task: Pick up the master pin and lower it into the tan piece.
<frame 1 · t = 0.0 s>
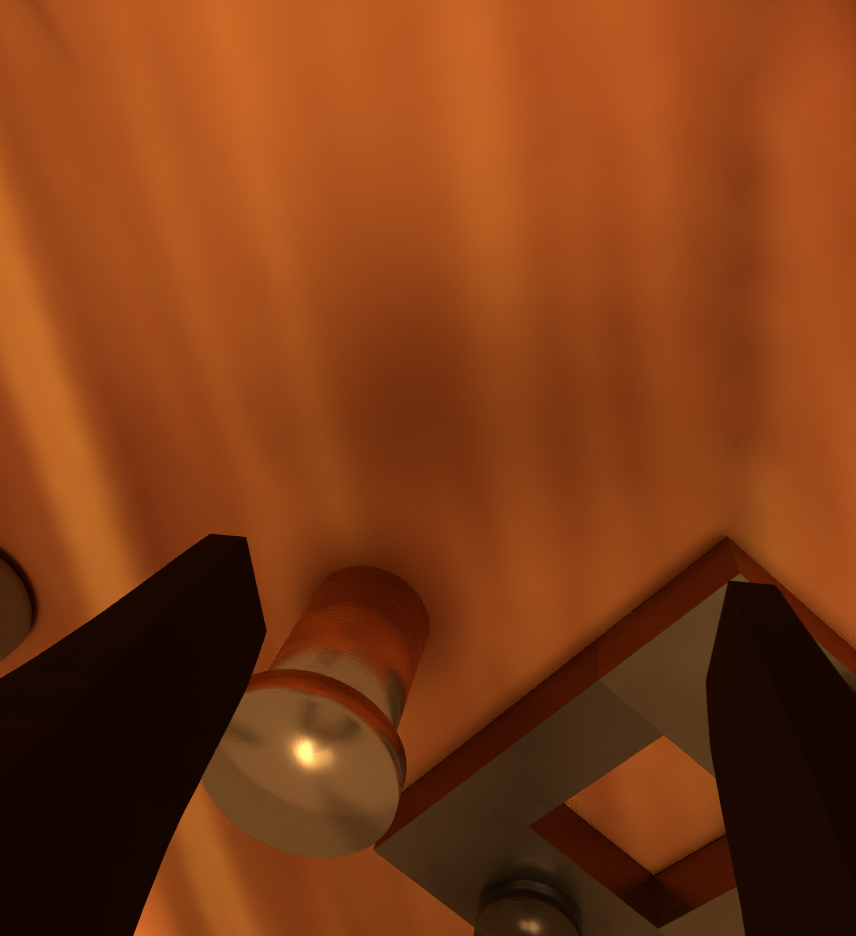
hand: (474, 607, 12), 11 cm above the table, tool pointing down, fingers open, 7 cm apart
master pin: (369, 619, 25), on the table
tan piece: (655, 788, 26), on the table
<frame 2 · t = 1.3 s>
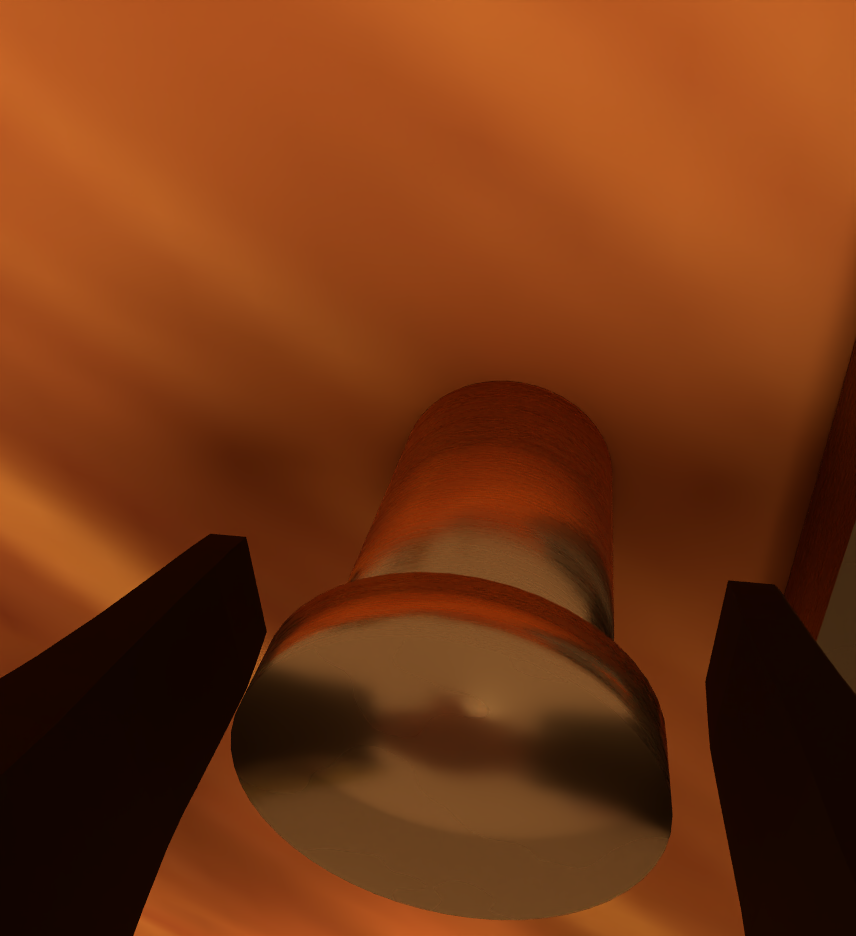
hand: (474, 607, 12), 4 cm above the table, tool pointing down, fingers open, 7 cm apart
master pin: (505, 474, 15), on the table
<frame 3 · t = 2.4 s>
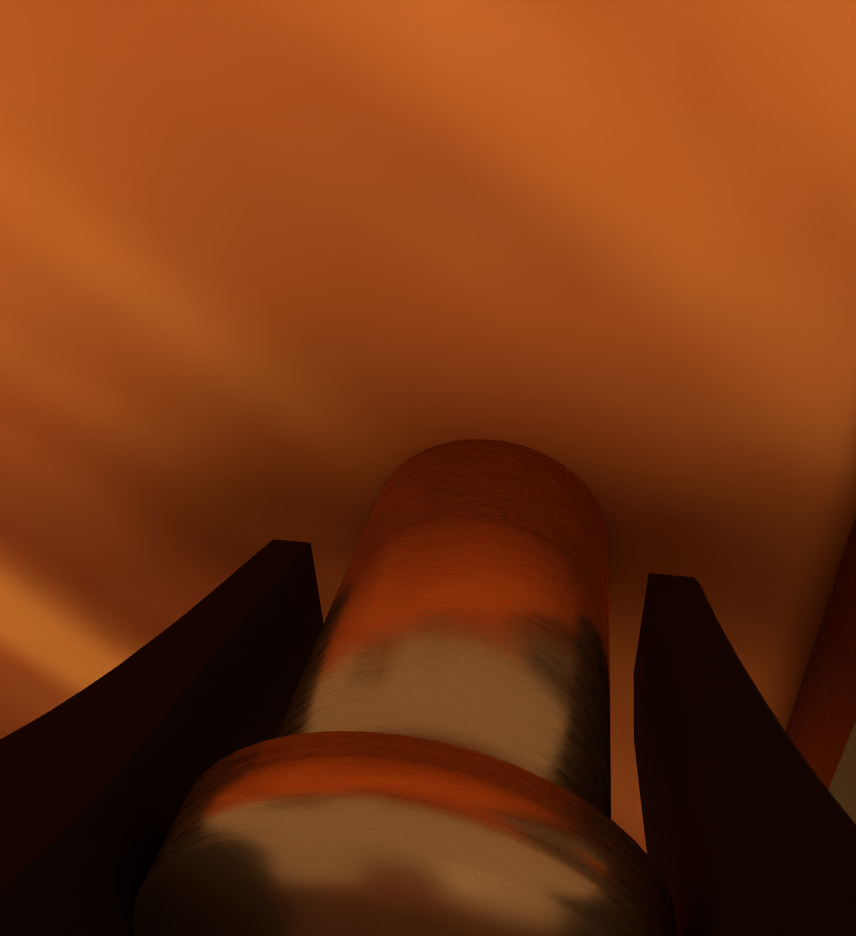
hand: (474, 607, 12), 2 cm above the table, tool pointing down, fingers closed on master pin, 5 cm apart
master pin: (487, 541, 13), on the table, touching gripper
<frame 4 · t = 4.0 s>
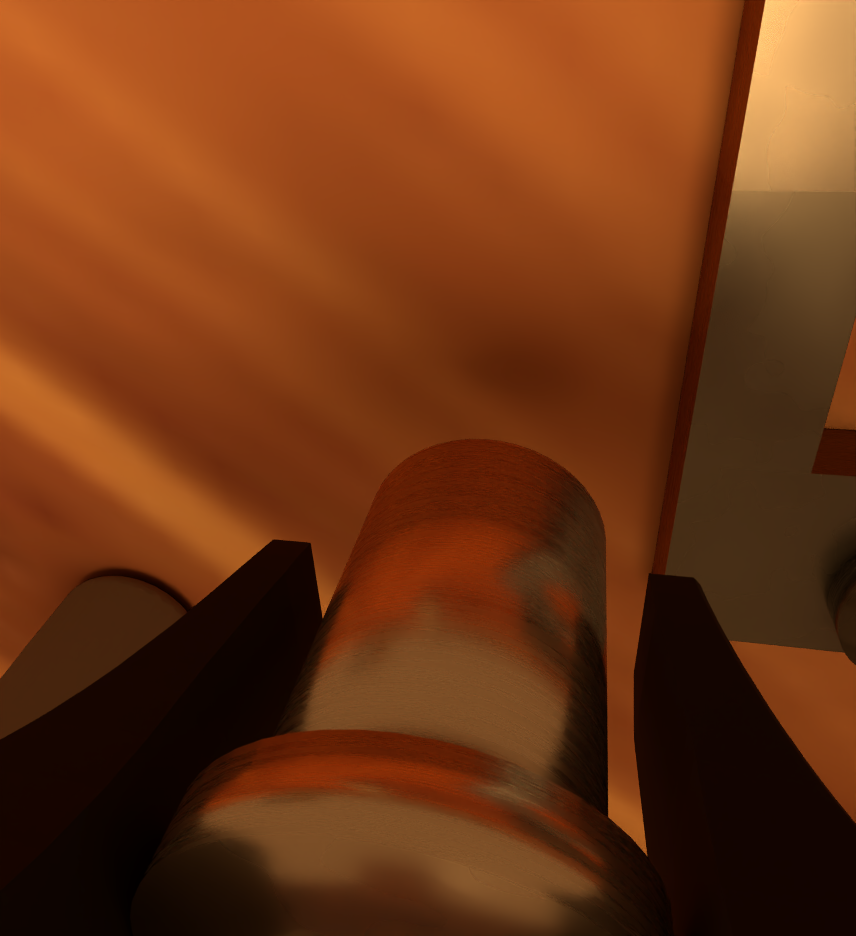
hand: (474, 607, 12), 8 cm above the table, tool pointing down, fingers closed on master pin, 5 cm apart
master pin: (484, 540, 13), point 7 cm above the table, touching gripper
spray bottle: (144, 617, 26), on the table
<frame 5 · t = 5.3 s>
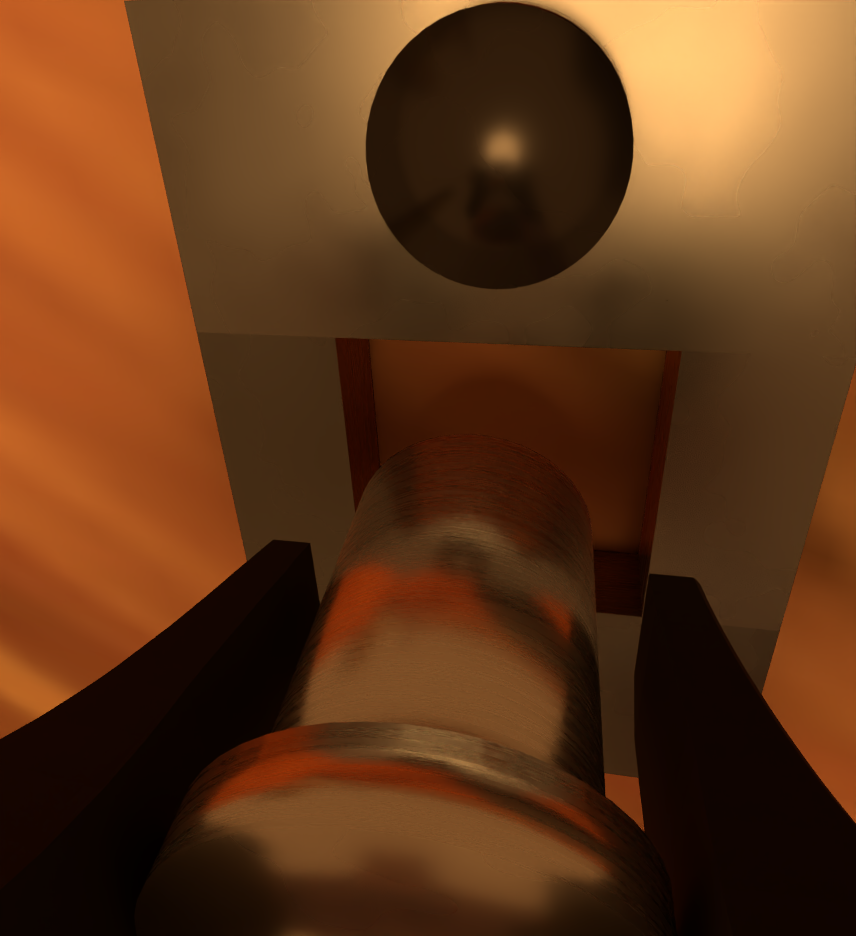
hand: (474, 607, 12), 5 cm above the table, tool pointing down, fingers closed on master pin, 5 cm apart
master pin: (472, 535, 13), point 4 cm above the table, touching gripper
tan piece: (510, 434, 16), on the table
when the fingers open (3 cm above the table, at t = 7.0 s): master pin drops 1 cm, resting in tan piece.
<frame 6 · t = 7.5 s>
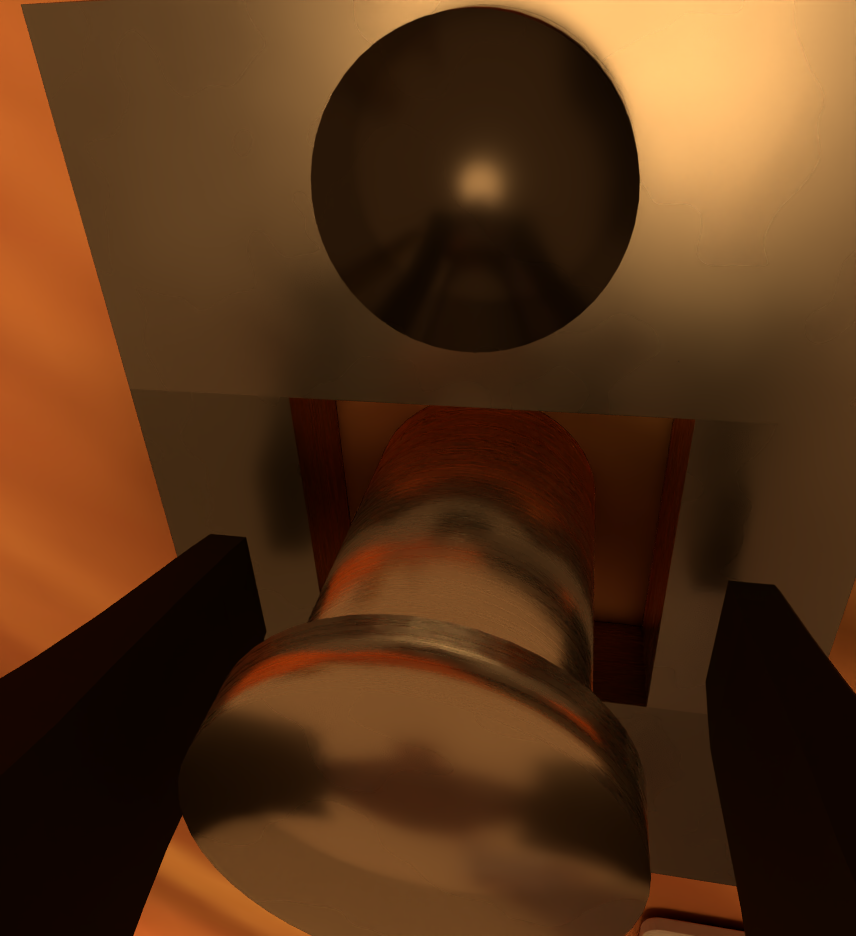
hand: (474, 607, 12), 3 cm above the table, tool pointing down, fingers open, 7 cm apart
master pin: (484, 492, 14), resting in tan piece
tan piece: (496, 495, 14), on the table
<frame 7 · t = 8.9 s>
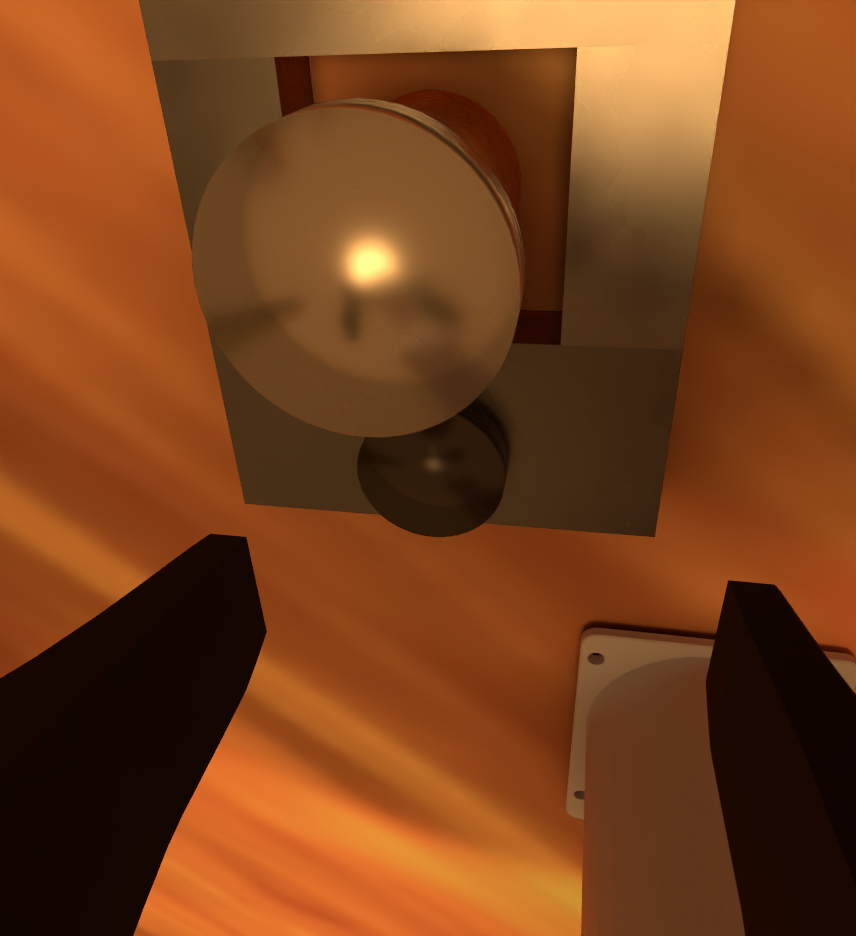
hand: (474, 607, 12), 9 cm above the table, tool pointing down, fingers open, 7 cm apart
master pin: (433, 186, 18), resting in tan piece
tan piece: (443, 187, 17), on the table
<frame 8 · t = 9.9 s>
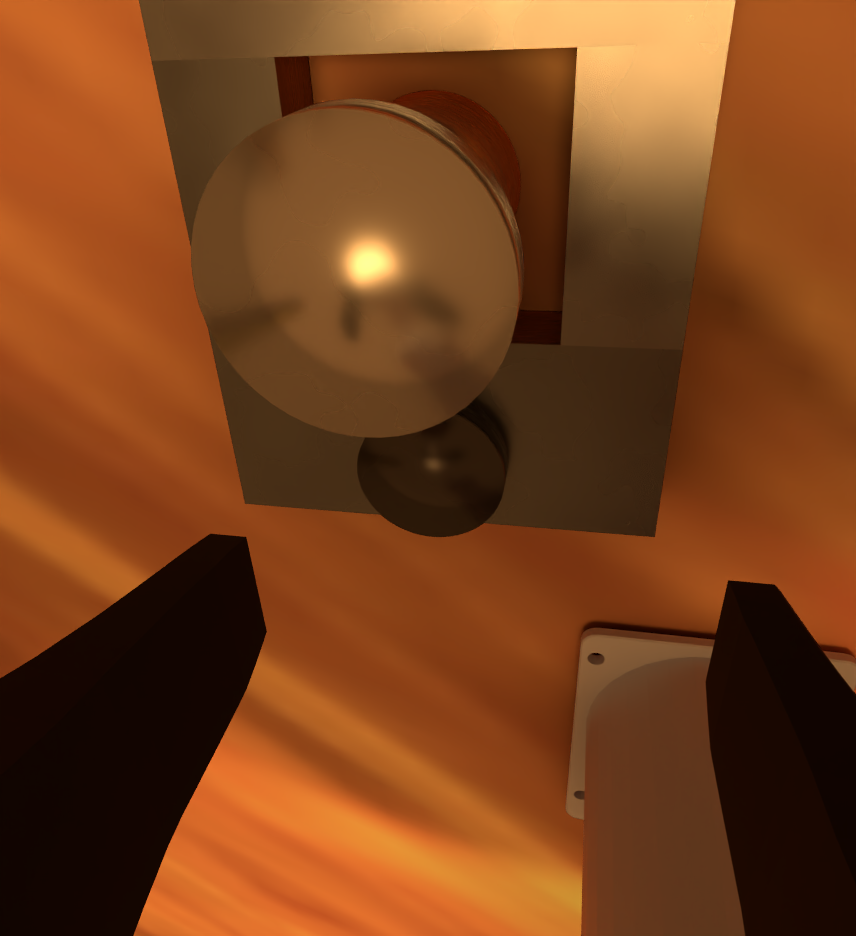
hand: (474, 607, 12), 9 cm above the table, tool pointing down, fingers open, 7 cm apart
master pin: (433, 186, 18), resting in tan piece
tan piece: (443, 187, 17), on the table
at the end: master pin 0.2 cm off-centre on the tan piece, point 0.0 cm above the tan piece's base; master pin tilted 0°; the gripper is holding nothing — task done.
